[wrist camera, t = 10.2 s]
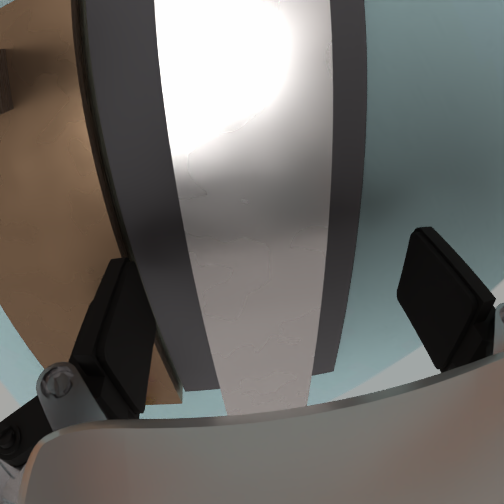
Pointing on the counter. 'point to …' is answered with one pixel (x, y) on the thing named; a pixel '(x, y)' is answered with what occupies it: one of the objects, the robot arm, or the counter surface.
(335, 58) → the mat
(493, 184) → the counter surface
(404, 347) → the counter surface
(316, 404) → the robot arm
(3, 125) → the rail stand
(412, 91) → the counter surface
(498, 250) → the counter surface
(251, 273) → the rail
